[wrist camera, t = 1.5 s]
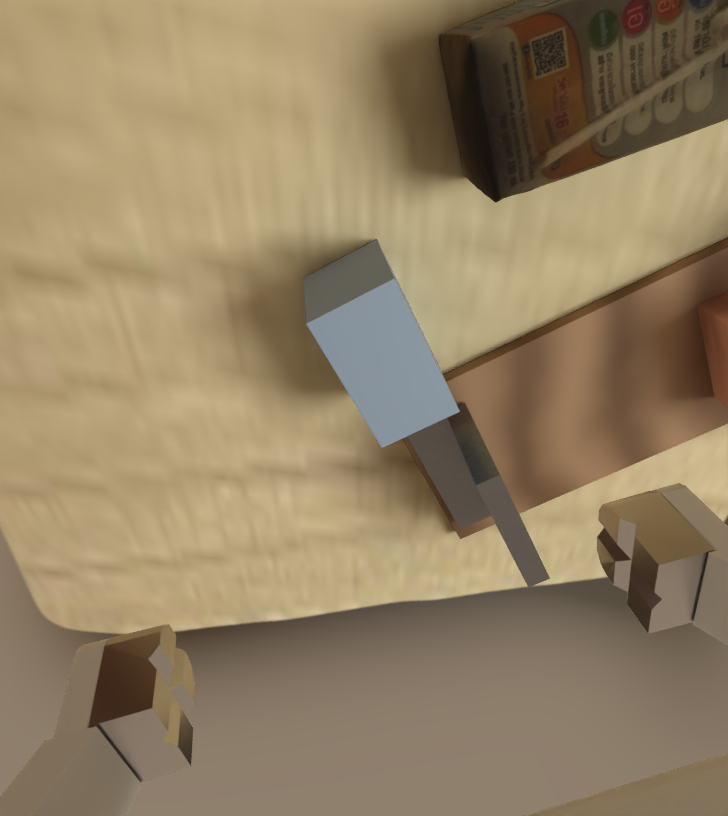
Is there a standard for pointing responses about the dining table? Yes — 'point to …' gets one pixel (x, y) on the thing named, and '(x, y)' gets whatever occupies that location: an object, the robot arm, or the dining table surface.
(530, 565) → the bookend
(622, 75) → the beverage carton
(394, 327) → the book
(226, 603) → the dining table surface
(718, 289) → the shelf
